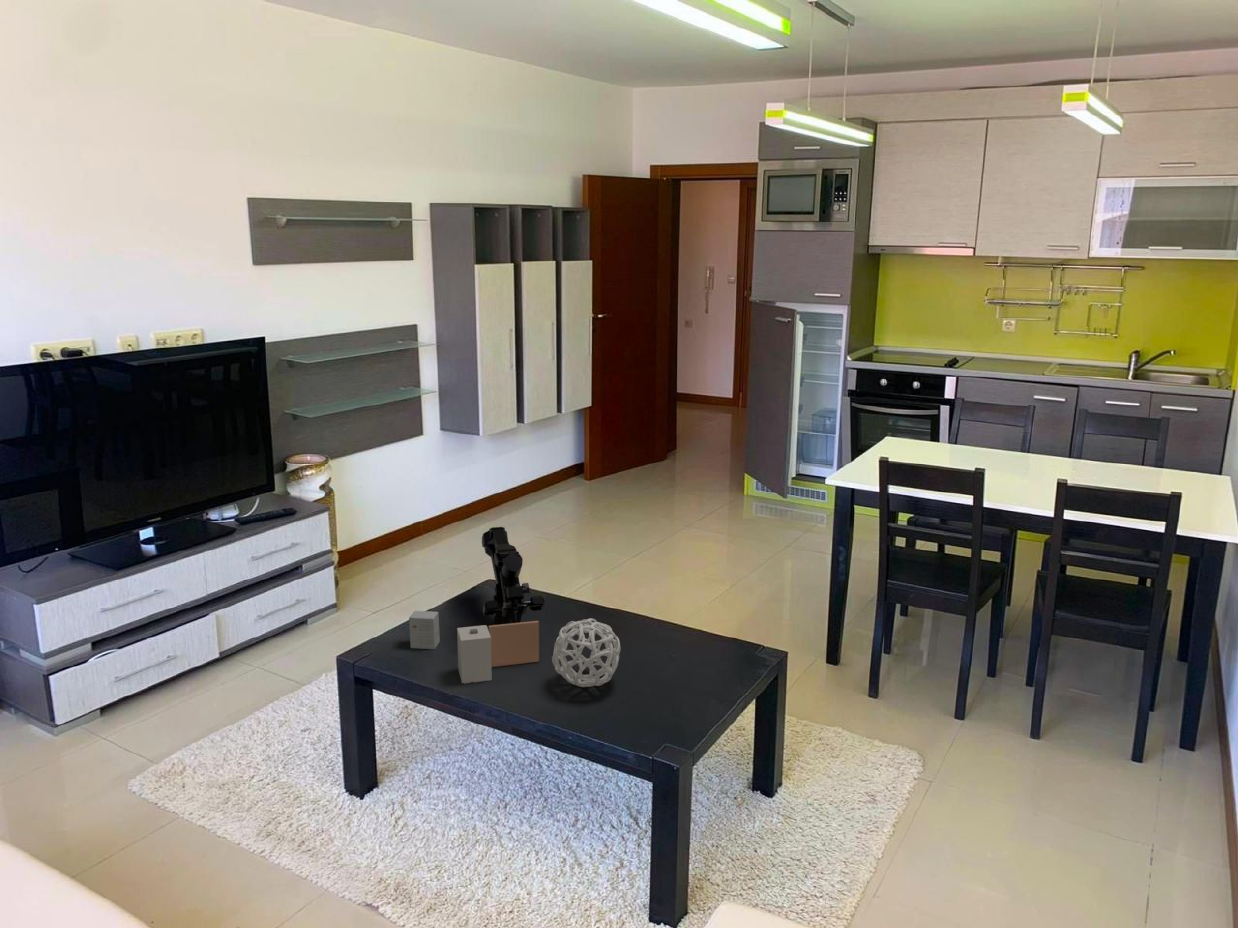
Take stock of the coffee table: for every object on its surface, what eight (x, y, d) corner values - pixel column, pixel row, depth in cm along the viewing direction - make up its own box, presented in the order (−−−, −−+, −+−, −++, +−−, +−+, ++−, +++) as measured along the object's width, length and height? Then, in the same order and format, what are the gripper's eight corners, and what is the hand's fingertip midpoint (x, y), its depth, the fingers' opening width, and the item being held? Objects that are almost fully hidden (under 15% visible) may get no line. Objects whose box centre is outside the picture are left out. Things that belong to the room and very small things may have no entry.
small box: (440, 642, 293) (439, 611, 291) (435, 649, 288) (433, 618, 285) (415, 640, 294) (414, 609, 291) (410, 648, 288) (408, 617, 286)
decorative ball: (541, 694, 261) (541, 632, 256) (564, 664, 280) (564, 605, 275) (609, 705, 256) (610, 641, 251) (627, 673, 274) (629, 614, 270)
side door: (489, 665, 277) (488, 625, 274) (538, 660, 282) (538, 620, 278) (489, 667, 277) (489, 627, 273) (538, 661, 281) (538, 621, 278)
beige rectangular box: (457, 667, 276) (456, 623, 272) (486, 664, 278) (485, 620, 275) (462, 683, 267) (461, 638, 263) (491, 680, 269) (491, 634, 265)
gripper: (483, 576, 281) (489, 624, 274) (543, 571, 287) (551, 618, 279) (480, 591, 291) (486, 638, 283) (538, 586, 296) (545, 631, 288)
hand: (517, 631), depth 283 cm, fingers closed
